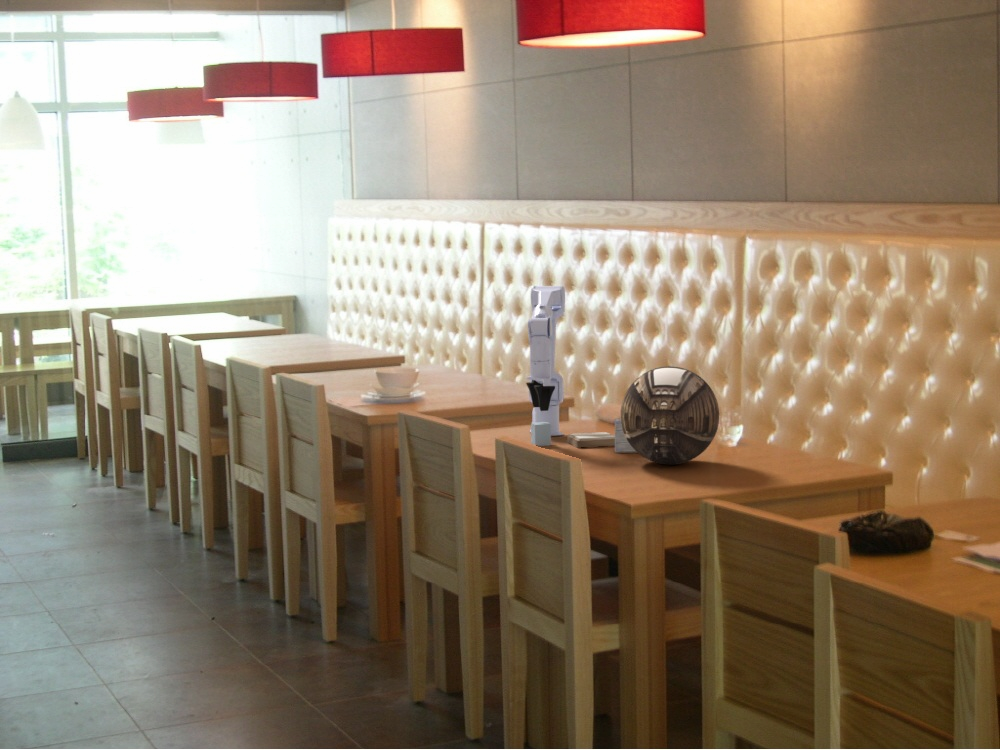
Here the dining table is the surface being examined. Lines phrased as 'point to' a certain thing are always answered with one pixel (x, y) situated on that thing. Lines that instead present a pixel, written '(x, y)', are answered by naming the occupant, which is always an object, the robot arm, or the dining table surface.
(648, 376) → the sphere
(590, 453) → the dining table surface
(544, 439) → the block
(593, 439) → the brown picture frame
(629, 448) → the medicine box
